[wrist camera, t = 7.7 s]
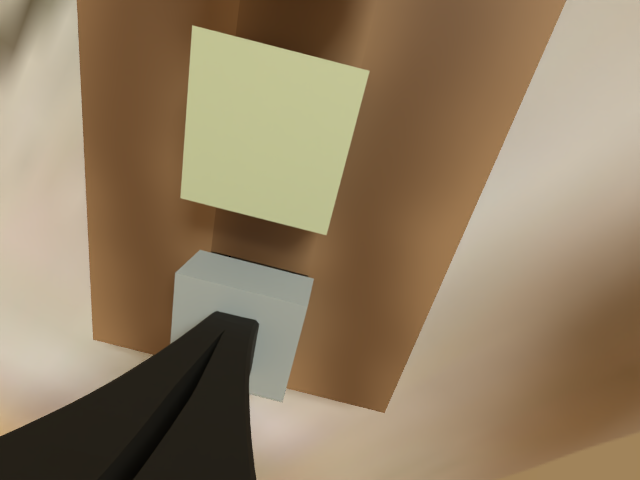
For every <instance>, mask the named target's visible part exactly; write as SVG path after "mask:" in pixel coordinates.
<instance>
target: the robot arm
mask: <svg viewBox="0 0 640 480" xmlns="http://www.w3.org/2000/svg"><path fill="white" fill-rule="evenodd" d="M258 329H259V323H258V322H257V321H256V320H254V319H249V318H245V317H241V316H236V315H232V314H228V313H224V312H219V311H215V312H213V313H212V314H210V315H209V316H208V317H206V318H205V319H204V320H202V321H201V322H200V323H199V324H197V325H196V326H195V327H193V328H192V329H191V330H189V331H188V332H186V333H185V334H184V335H182V336H181V337H180V338H178V339H177V340H175V341H174V342H172V343H171V344H169V345H168V346H167V347H165V348H164V349H162V350H161V351H159V352H158V353H156V354H155V355H153V356H152V357H150V358H149V359H147V360H146V361H144V362H142V363H141V364H139V365H138V366H136V367H134V368H133V369H131V370H130V371H128V372H126V373H125V374H123V375H122V376H120V377H118V378H116V379H115V380H113V381H111V382H110V383H108V384H106V385H104V386H103V387H101V388H99V389H97V390H95V391H93V392H92V393H90V394H88V395H86V396H84V397H82V398H80V399H78V400H77V401H75V402H73V403H71V404H69V405H67V406H65V407H63V408H60V409H58V410H56V411H54V412H52V413H50V414H48V415H46V416H44V417H42V418H40V419H37V420H35V421H33V422H31V423H29V424H27V425H25V426H23V427H21V428H18V429H16V430H14V431H12V432H9V433H7V434H5V435H2V436H0V480H256V474H255V468H254V459H253V450H252V440H251V427H250V409H249V376H250V373H251V369H252V363H253V358H254V352H255V346H256V340H257V334H258Z"/></svg>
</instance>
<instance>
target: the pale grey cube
mask: <svg viewBox="0 0 640 480" xmlns="http://www.w3.org/2000/svg"><path fill="white" fill-rule="evenodd" d="M313 281H314V279H313V278H309V277H305V276H301V275H297V274H296V273H295V272H292V271H288V270H284V269H280V268H276V267H272V266H268V265H264V264H260V263H256V262H252V261H248V260H244V259H240V258H236V257H232V258H230V257H226V256H222V255H219V254H215V253H211V252H207V251H203V250H199V251H198V252H197V253H196V254H195V255H194V256H193V257H192V258H191V259H190V260H188V261H187V262H186V263H185V264H184V265H183V266H182V267H181V268H180V269H179V270H178V271H177V272H176V273H175V283H174V298H173V312H172V327H171V341H170V344H171V343H172V342H174V341H175V340H177V339H178V338H180V337H181V336H182V335H184V334H185V333H186V332H188V331H189V330H191V329H192V328H193V327H195V326H196V325H197V324H199V323H200V322H201V321H202V320H204V319H205V318H206V317H208V316H209V315H210V314H212V313H213V312H215V311H219V312H224V313H228V314H232V315H236V316H241V317H245V318H249V319H254V320H256V321H257V322H258V323H259V329H258V334H257V340H256V346H255V352H254V358H253V363H252V369H251V373H250V376H249V394H251V395H255V396H259V397H263V398H267V399H271V400H275V401H279V402H283V399H284V395H285V391H286V387H287V383H288V380H289V376H290V372H291V368H292V364H293V361H294V357H295V353H296V349H297V345H298V342H299V338H300V334H301V330H302V326H303V323H304V319H305V315H306V311H307V307H308V303H309V299H310V294H311V290H312V285H313Z"/></svg>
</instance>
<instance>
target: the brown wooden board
mask: <svg viewBox="0 0 640 480" xmlns="http://www.w3.org/2000/svg"><path fill="white" fill-rule="evenodd" d="M565 2H566V0H77V12H78V33H79V54H80V75H81V96H82V116H83V137H84V158H85V179H86V200H87V220H88V241H89V262H90V283H91V303H92V324H93V339H94V340H97V341H101V342H105V343H109V344H113V345H117V346H121V347H125V348H129V349H133V350H137V351H141V352H145V353H149V354H153V355H155V354H156V353H158V352H159V351H161V350H162V349H164V348H165V347H167V346H168V345H169V344H170V341H171V327H172V312H173V298H174V283H175V273H176V272H177V271H178V270H179V269H180V268H181V267H182V266H183V265H184V264H185V263H186V262H187V261H188V260H190V259H191V258H192V257H193V256H194V255H195V254H196V253H197V252H198V251H199V250H203V251H207V252H211V253H215V254H219V255H222V256H226V257H228V256H232V257H236V258H240V259H244V260H248V261H252V262H256V263H260V264H264V265H268V266H272V267H276V268H280V269H284V270H288V271H292V272H295V273H299V274H303V275H307V276H308V277H309V278H313V279H314V281H313V285H312V290H311V294H310V299H309V303H308V307H307V311H306V315H305V319H304V323H303V326H302V330H301V334H300V338H299V342H298V345H297V349H296V353H295V357H294V361H293V364H292V368H291V372H290V376H289V380H288V383H287V387H286V388H288V389H292V390H296V391H300V392H304V393H308V394H312V395H316V396H320V397H324V398H328V399H332V400H336V401H339V402H343V403H347V404H351V405H355V406H359V407H363V408H367V409H371V410H375V411H379V412H383V413H385V410H386V408H387V406H388V404H389V401H390V399H391V397H392V395H393V392H394V390H395V388H396V386H397V383H398V381H399V379H400V376H401V374H402V372H403V370H404V367H405V365H406V363H407V361H408V358H409V356H410V354H411V351H412V349H413V347H414V345H415V342H416V340H417V338H418V336H419V333H420V331H421V329H422V327H423V324H424V322H425V320H426V317H427V315H428V313H429V311H430V308H431V306H432V304H433V302H434V299H435V297H436V295H437V293H438V290H439V288H440V286H441V283H442V281H443V279H444V277H445V274H446V272H447V270H448V268H449V265H450V263H451V261H452V258H453V256H454V254H455V252H456V249H457V247H458V245H459V243H460V240H461V238H462V236H463V234H464V231H465V229H466V227H467V224H468V222H469V220H470V218H471V215H472V213H473V211H474V209H475V206H476V204H477V202H478V199H479V197H480V195H481V193H482V190H483V188H484V186H485V184H486V181H487V179H488V177H489V175H490V172H491V170H492V168H493V165H494V163H495V161H496V159H497V156H498V154H499V152H500V150H501V147H502V145H503V143H504V141H505V138H506V136H507V134H508V131H509V129H510V127H511V125H512V122H513V120H514V118H515V116H516V113H517V111H518V109H519V106H520V104H521V102H522V100H523V97H524V95H525V93H526V91H527V88H528V86H529V84H530V82H531V79H532V77H533V75H534V72H535V70H536V68H537V66H538V63H539V61H540V59H541V57H542V54H543V52H544V50H545V47H546V45H547V43H548V41H549V38H550V36H551V34H552V32H553V29H554V27H555V25H556V23H557V20H558V18H559V16H560V13H561V11H562V9H563V7H564V4H565ZM192 25H193V26H197V27H201V28H205V29H209V30H213V31H216V32H220V33H224V34H228V35H232V36H236V37H240V38H244V39H248V40H251V41H255V42H259V43H263V44H267V45H271V46H275V47H279V48H283V49H287V50H290V51H294V52H298V53H302V54H306V55H310V56H314V57H318V58H322V59H326V60H329V61H333V62H337V63H341V64H345V65H349V66H353V67H357V68H361V69H365V70H368V71H370V72H369V75H368V79H367V83H366V87H365V91H364V94H363V98H362V102H361V106H360V110H359V113H358V117H357V121H356V125H355V129H354V132H353V136H352V140H351V144H350V148H349V151H348V155H347V159H346V163H345V167H344V170H343V174H342V178H341V182H340V186H339V189H338V193H337V197H336V201H335V205H334V208H333V212H332V216H331V220H330V224H329V227H328V231H327V235H323V234H319V233H315V232H311V231H308V230H304V229H300V228H296V227H292V226H288V225H284V224H280V223H276V222H272V221H268V220H264V219H260V218H256V217H253V216H249V215H245V214H241V213H237V212H233V211H229V210H225V209H221V208H217V207H213V206H209V205H205V204H201V203H197V202H194V201H190V200H186V199H182V198H180V196H181V182H182V167H183V153H184V138H185V124H186V109H187V95H188V80H189V66H190V51H191V37H192Z"/></svg>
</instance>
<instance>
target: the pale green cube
mask: <svg viewBox="0 0 640 480" xmlns="http://www.w3.org/2000/svg"><path fill="white" fill-rule="evenodd" d="M369 72H370V71H368V70H365V69H361V68H357V67H353V66H349V65H345V64H341V63H337V62H333V61H329V60H326V59H322V58H318V57H314V56H310V55H306V54H302V53H298V52H294V51H290V50H287V49H283V48H279V47H275V46H271V45H267V44H263V43H259V42H255V41H251V40H248V39H244V38H240V37H236V36H232V35H228V34H224V33H220V32H216V31H213V30H209V29H205V28H201V27H197V26H193V25H192V37H191V51H190V66H189V80H188V95H187V109H186V124H185V138H184V153H183V167H182V182H181V196H180V198H182V199H186V200H190V201H194V202H197V203H201V204H205V205H209V206H213V207H217V208H221V209H225V210H229V211H233V212H237V213H241V214H245V215H249V216H253V217H256V218H260V219H264V220H268V221H272V222H276V223H280V224H284V225H288V226H292V227H296V228H300V229H304V230H308V231H311V232H315V233H319V234H323V235H327V231H328V227H329V224H330V220H331V216H332V212H333V208H334V205H335V201H336V197H337V193H338V189H339V186H340V182H341V178H342V174H343V170H344V167H345V163H346V159H347V155H348V151H349V148H350V144H351V140H352V136H353V132H354V129H355V125H356V121H357V117H358V113H359V110H360V106H361V102H362V98H363V94H364V91H365V87H366V83H367V79H368V75H369Z"/></svg>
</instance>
